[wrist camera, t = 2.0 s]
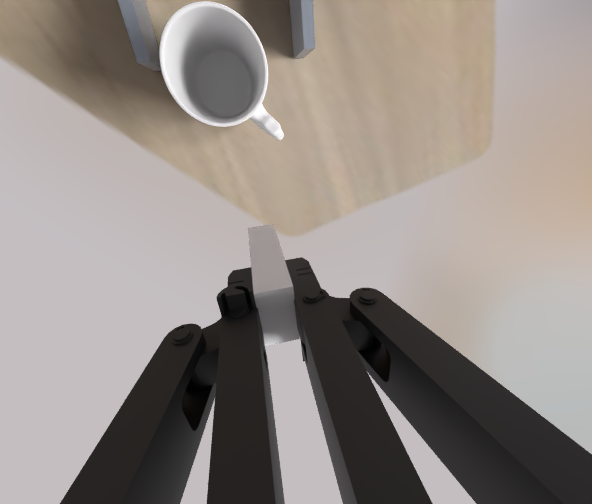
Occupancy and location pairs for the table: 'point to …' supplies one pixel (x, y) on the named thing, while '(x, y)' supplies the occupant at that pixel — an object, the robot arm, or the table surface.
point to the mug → (216, 66)
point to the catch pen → (148, 49)
